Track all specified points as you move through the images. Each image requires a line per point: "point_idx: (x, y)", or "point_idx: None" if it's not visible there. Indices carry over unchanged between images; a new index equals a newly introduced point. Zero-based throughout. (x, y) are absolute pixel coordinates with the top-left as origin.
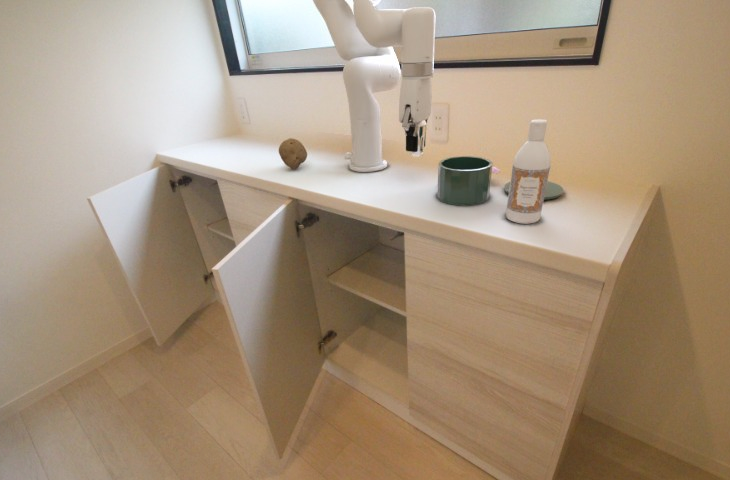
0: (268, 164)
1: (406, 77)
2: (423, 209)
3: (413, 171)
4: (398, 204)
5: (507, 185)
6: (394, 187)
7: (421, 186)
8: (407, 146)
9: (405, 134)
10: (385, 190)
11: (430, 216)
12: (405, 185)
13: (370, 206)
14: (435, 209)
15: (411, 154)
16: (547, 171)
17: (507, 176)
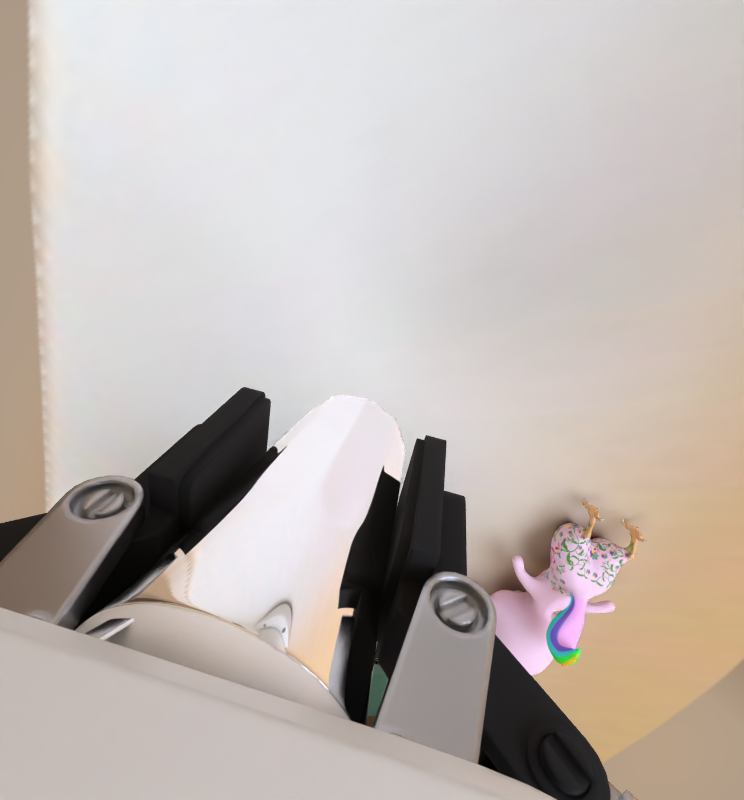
0: None
1: None
2: (119, 424)
3: (706, 275)
4: (120, 316)
5: (385, 679)
6: (337, 225)
7: (380, 379)
8: (194, 427)
9: (82, 487)
10: (273, 181)
11: (77, 453)
12: (384, 287)
13: (36, 178)
14: (138, 463)
15: (320, 405)
16: None
17: (553, 688)
